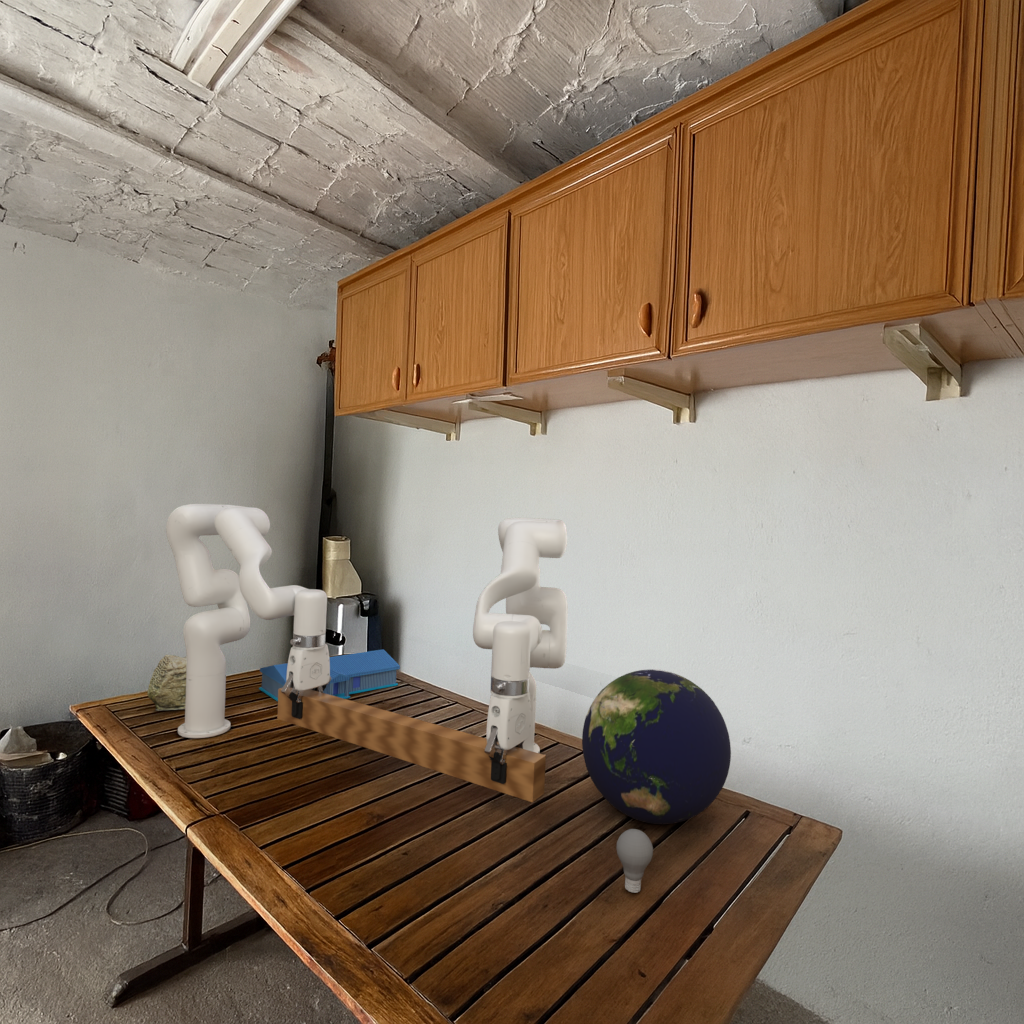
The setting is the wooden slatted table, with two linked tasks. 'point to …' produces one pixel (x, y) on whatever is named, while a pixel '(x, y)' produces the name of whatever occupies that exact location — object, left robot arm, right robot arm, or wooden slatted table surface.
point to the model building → (342, 674)
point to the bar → (417, 742)
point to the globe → (656, 746)
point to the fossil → (169, 683)
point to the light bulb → (634, 857)
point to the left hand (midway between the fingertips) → (305, 713)
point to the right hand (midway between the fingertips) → (505, 775)
